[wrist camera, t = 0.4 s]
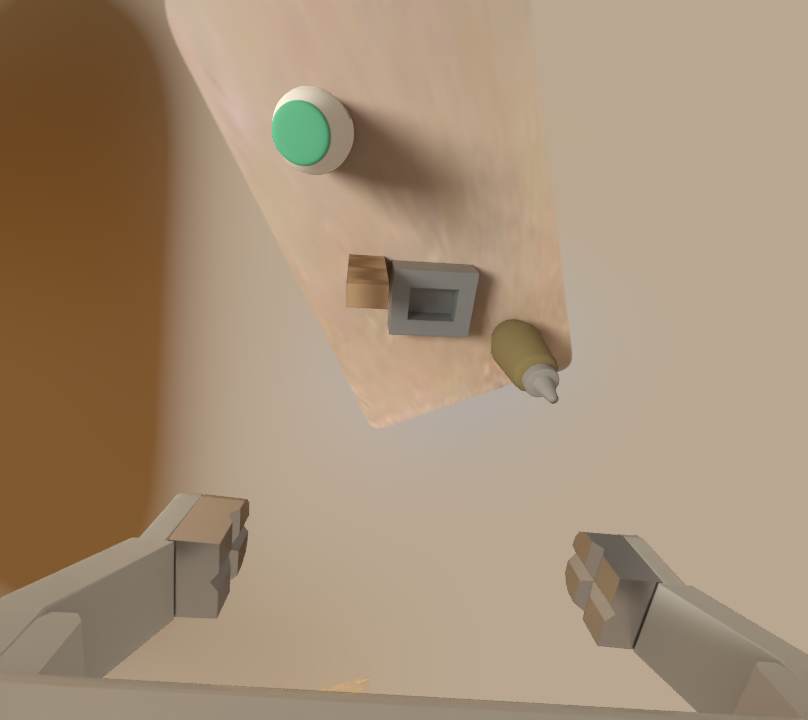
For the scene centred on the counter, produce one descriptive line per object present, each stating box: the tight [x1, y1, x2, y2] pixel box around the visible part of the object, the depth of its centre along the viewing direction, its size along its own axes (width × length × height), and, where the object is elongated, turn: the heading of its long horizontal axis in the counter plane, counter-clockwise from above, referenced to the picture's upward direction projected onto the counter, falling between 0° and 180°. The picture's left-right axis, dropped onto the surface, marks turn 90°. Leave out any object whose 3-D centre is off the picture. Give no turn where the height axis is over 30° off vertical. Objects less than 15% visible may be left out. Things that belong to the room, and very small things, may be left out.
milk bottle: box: [272, 86, 354, 175], centre depth 40 cm, size 8×8×20 cm
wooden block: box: [346, 254, 389, 309], centre depth 52 cm, size 5×3×12 cm, turn 85°
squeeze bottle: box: [491, 320, 559, 404], centre depth 58 cm, size 8×8×18 cm
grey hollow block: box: [388, 260, 479, 337], centre depth 59 cm, size 12×10×4 cm
